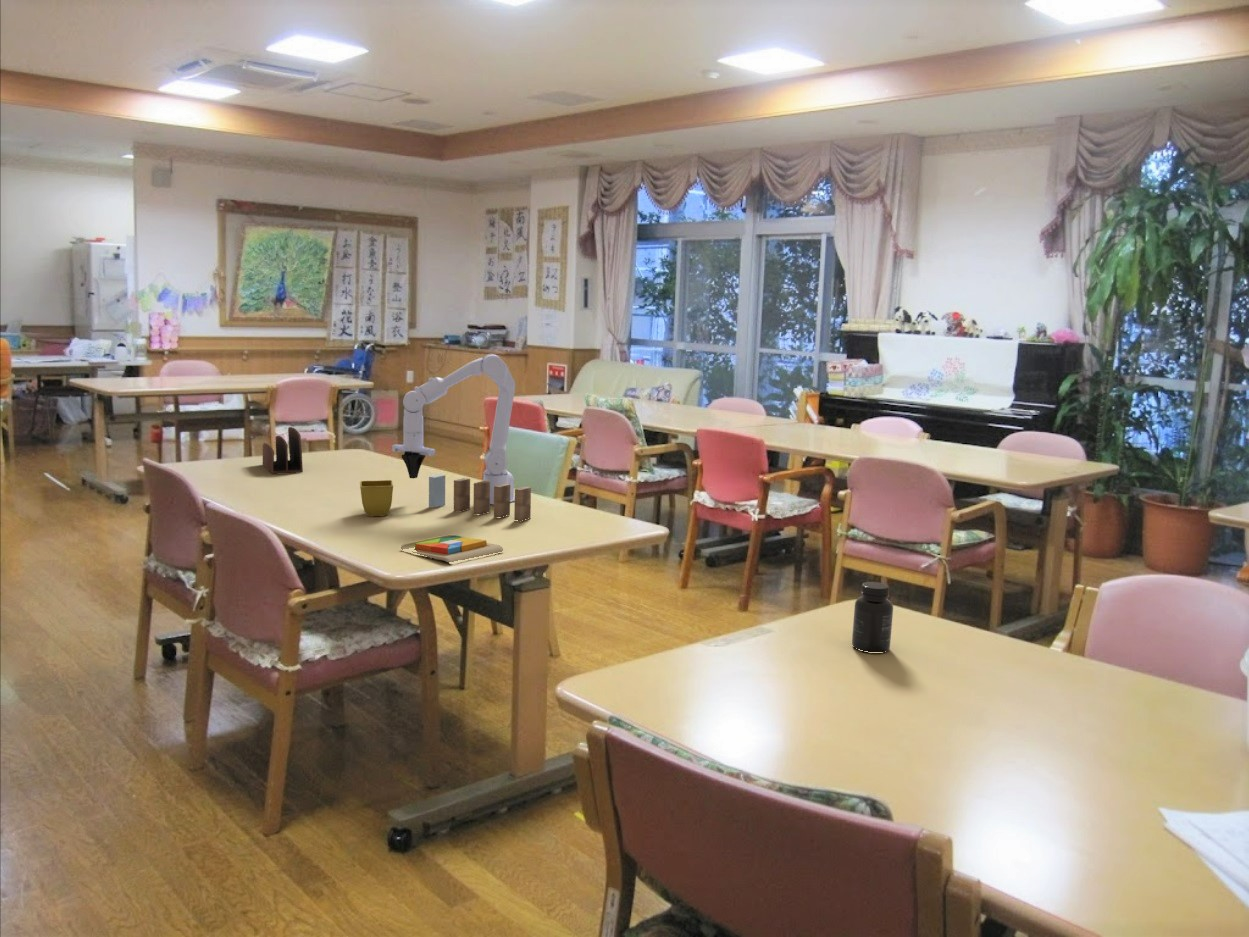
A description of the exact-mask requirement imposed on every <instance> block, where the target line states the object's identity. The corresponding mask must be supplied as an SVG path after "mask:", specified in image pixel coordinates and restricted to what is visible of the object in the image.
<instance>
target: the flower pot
mask: <svg viewBox="0 0 1249 937" xmlns="http://www.w3.org/2000/svg"><path fill="white" fill-rule="evenodd" d="M359 486H360V487H359V489H360V496H361V503H362V506H363V510H364V512H365V513H366V516H367V517H380V516H381V517H386V516H388V513H389V512H390V510H391V506H392V502H393V493H394V492H393V490H394V484H393V480H390V479H389V480H388V479H386V480H382V479H381V480H380V479H379V480H360V481H359Z"/></svg>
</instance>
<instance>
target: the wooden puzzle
mask: <svg viewBox="0 0 1249 937" xmlns="http://www.w3.org/2000/svg"><path fill="white" fill-rule="evenodd" d="M414 547H415V549H414V550H416V551H417V552H413V551H412V552H413V553H417V554H420V555H424V556H427V557H430V558H429V559H432V558H434V559H433V560H439V561H444V562H446V563H447V562H454V561H458V560H465V559H469V558H474V557H479V556H483V555H489V554H493V553H498V552H502V551H503V552H504V548H503V546H501V545H500V544H497V543H496V544H495V543H487V540H486V539H481V538H480V539H479V538H474V537H466V536H461V535H454V534H453V533H450V534H443V535H439V536H434V537H430V538H424V539H419V540H414V541H410V542H406V543H403V544H402V545H401V546H400V550H401V549H402V550H403V549H409V548H414Z"/></svg>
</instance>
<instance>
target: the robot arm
mask: <svg viewBox="0 0 1249 937" xmlns="http://www.w3.org/2000/svg"><path fill="white" fill-rule="evenodd" d="M483 373H484V375H485V376H486V377H488V378H489V379H491V380H493V382H494V384H495V385H496V386H497V387H498V395H497V400H496V408H495V413H494V419H493V427H492V431H491V432H492V433H491V438H490V444H489V448H488V451H486V453H485V456H484V463H485V469H484V470H483V473H482V474H483V480H482V481H489V482H490V505H492V506H494V486H497V485H501V484H510V503H511V502H515V479H514V476H513V474H512V473H511V472H509V471H508V470H507V467H508V460H507V458H506V453H507V442H508V436H509V430H510V423H511V416H512V410H513V404H514V399H515V398H514V397H515V391H516V382H515V380H514V377H513V376H512V374H511V371H510V369H509V367H508V365H507V364H506V363H505V362H504V360H502V358H501V357H499V355H497V354H494V353H488V354H486V355H484V356H483V357H479V358H477V359H474V360H472V361H469V362H468V363H466V364H465V365H462V366H461V367H460V368H458V369H456V370H455V371H453V372H452V373H449V374H448V375H446V376H445V377H443V378H442V377H439V376H436V377H429V378H428V381H426V382H425V383H423V384H421V385H420V386H418V385H416V386H415V387H413V389H414V390H410V391H408V392H406V393H405V395H404V397H403V399H402V400H403V401H402V403H403V404H402V405H403V407H404V409H403V428H402V429H403V444H392V445H391V450H392V452H394V453H395V452H397V453H398V452H399V453H404V454H401V459H402V461H403V462H404V464H405V466H406V469H407V472H408V477H409V479H417V478H418V476H419V474H420V468H421V466H422V464H423V461H424V460H425V458H426V456H428V457H435V456H436V448H430V447H426V446H424V416H423V408H424V405H429V404H431V403H433V402H436V401H437V400H438V399H440V398H442V397H444V396H446V395H447V393H448V390H449V388H451V387H452V386H454V385H456V384H458V383H461V382H462V381H464V380H466V379H468V378H471V376H477V377H478V376H481V377H482V376H483Z"/></svg>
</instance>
